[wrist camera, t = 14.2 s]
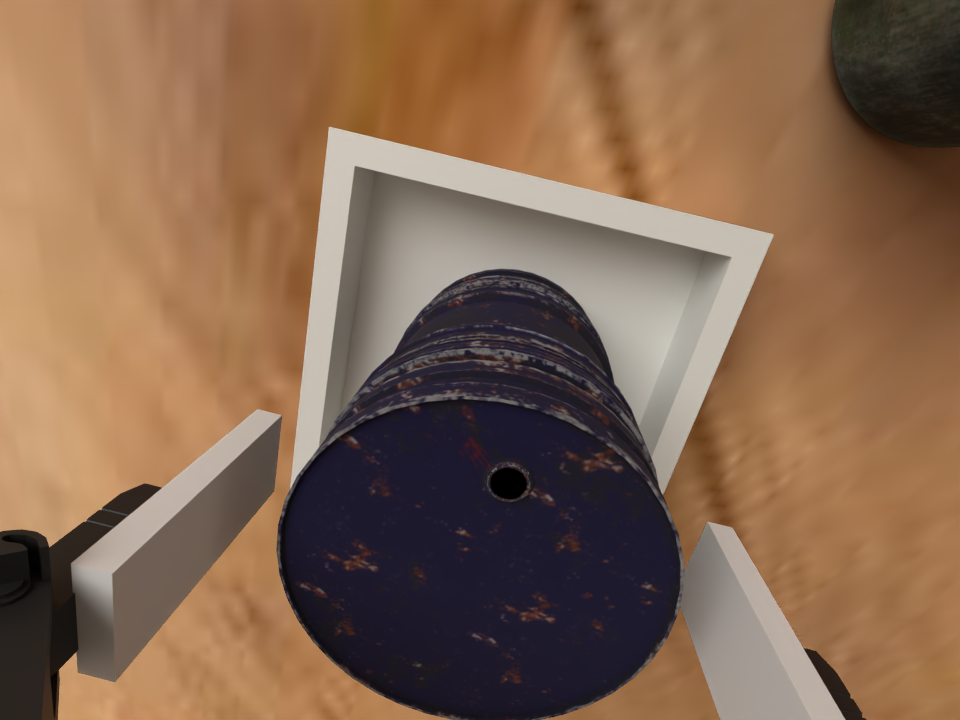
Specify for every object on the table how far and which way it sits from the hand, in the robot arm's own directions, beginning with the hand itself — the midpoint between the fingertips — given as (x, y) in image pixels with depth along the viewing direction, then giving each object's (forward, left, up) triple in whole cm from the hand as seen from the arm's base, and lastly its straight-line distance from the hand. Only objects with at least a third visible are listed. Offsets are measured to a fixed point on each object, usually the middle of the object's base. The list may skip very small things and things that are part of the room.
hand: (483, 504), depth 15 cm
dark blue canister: (0, 0, -12) cm, 12 cm away
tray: (0, 0, -13) cm, 13 cm away
